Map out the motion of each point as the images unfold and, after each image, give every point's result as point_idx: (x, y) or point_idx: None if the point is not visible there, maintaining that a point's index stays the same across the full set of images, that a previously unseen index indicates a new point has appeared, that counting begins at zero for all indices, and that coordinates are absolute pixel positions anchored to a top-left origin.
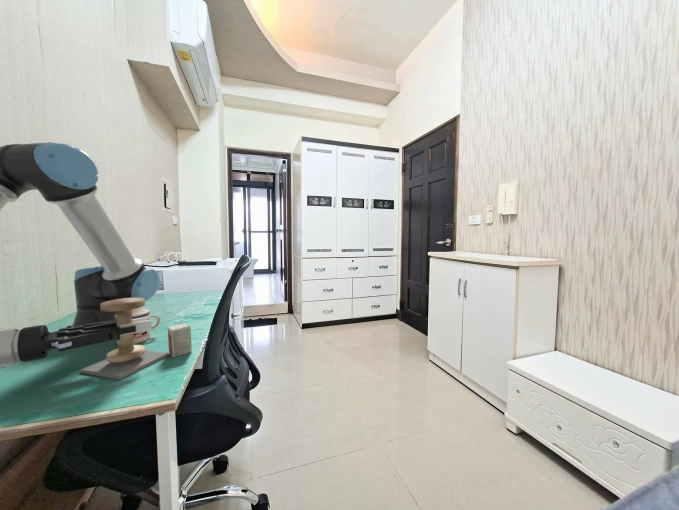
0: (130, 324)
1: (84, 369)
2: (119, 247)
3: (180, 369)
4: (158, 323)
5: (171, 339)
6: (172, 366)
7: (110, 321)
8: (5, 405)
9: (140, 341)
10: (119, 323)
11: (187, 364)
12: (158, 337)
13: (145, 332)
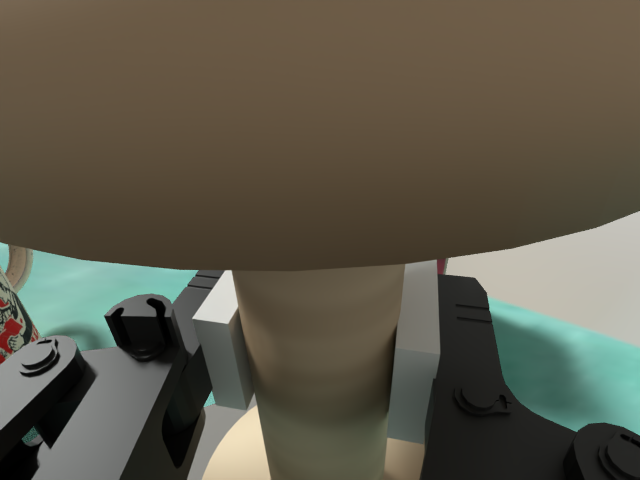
0: (436, 285)
1: None
2: None
3: (617, 365)
4: (30, 250)
5: (445, 269)
6: (555, 376)
7: (23, 391)
8: None
9: None
10: (379, 336)
11: (565, 333)
12: (82, 313)
13: (28, 322)
